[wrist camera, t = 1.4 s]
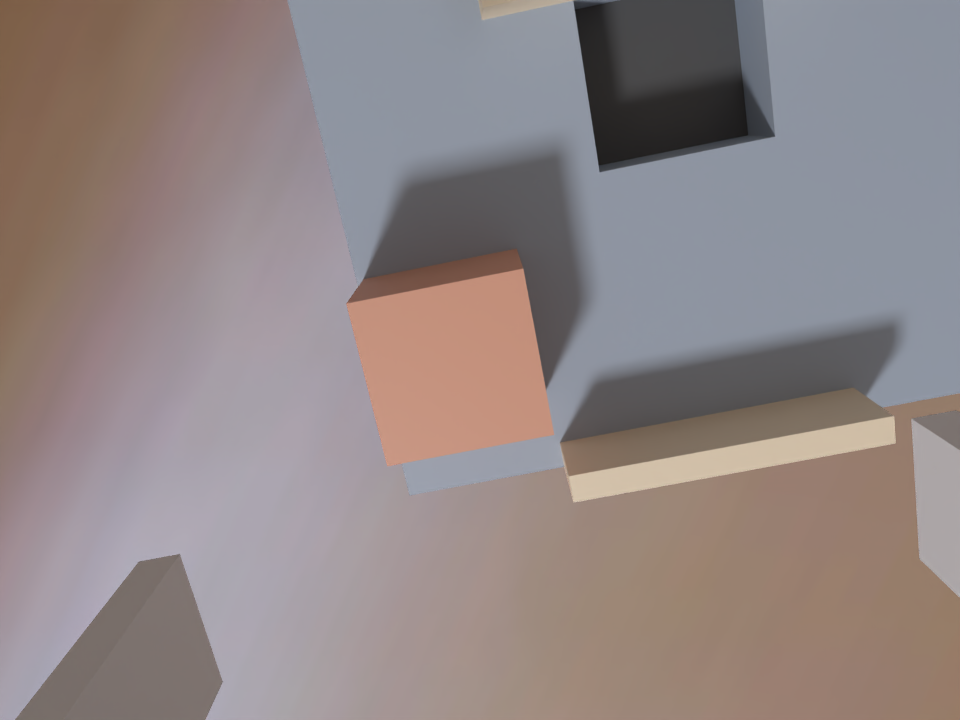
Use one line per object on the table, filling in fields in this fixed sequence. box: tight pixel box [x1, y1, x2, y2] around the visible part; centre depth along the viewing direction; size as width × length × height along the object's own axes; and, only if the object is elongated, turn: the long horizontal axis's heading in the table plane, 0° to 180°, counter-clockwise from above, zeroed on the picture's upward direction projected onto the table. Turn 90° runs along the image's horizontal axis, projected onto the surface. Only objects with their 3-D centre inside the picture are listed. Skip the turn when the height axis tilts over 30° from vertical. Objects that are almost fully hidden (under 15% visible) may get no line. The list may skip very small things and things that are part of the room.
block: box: [347, 249, 554, 466], centre depth 27 cm, size 6×6×4 cm
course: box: [288, 0, 960, 502], centre depth 28 cm, size 18×24×6 cm
